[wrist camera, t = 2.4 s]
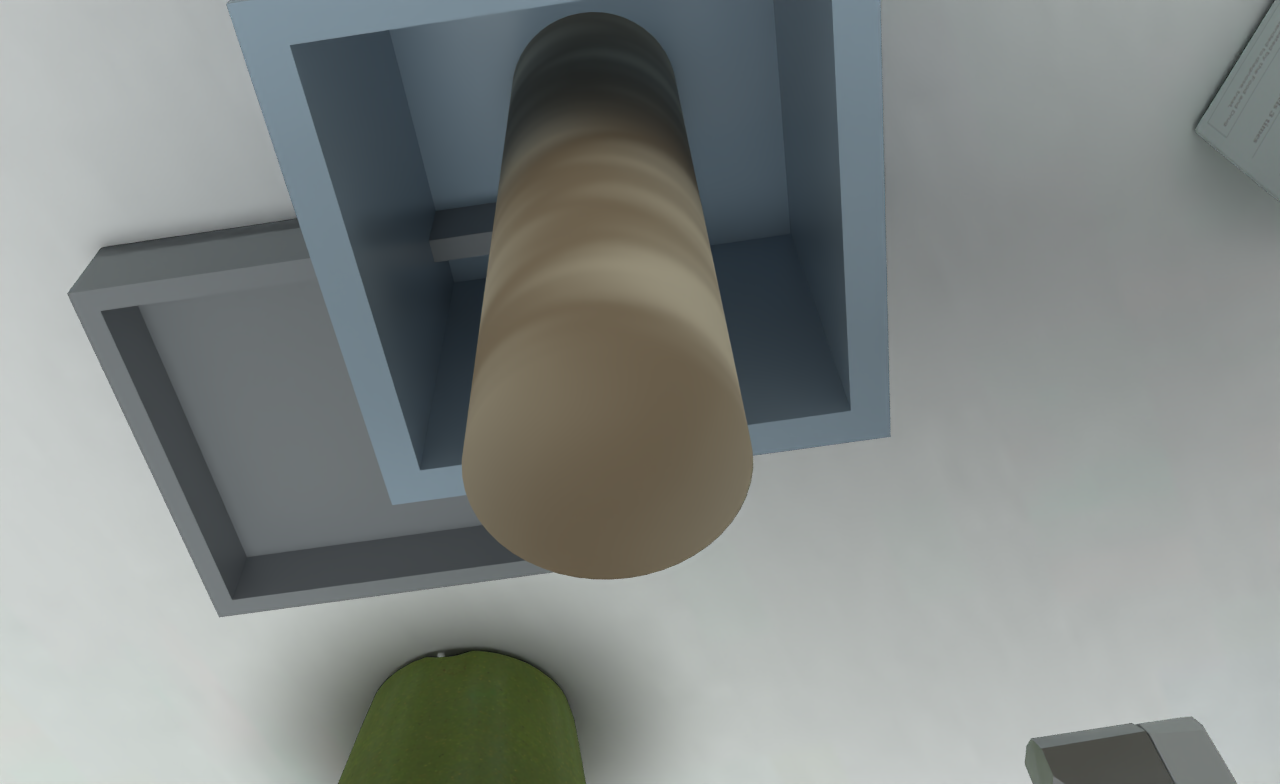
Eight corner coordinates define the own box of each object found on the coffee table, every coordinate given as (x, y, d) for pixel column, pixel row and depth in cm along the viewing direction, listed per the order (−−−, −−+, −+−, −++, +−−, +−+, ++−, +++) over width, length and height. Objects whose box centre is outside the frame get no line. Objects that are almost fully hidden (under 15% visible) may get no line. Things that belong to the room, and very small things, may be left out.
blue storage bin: (791, -182, 26) (877, -98, 19) (817, 242, 32) (890, 436, 25) (324, -108, 27) (226, 3, 19) (434, 298, 32) (392, 505, 25)
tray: (517, 186, 31) (513, 228, 29) (587, 513, 37) (587, 567, 35) (101, 247, 31) (67, 293, 29) (239, 560, 37) (219, 617, 35)
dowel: (665, -1, 27) (739, 326, 15) (685, 159, 30) (763, 559, 17) (496, 25, 28) (431, 371, 15) (529, 182, 30) (494, 595, 17)
